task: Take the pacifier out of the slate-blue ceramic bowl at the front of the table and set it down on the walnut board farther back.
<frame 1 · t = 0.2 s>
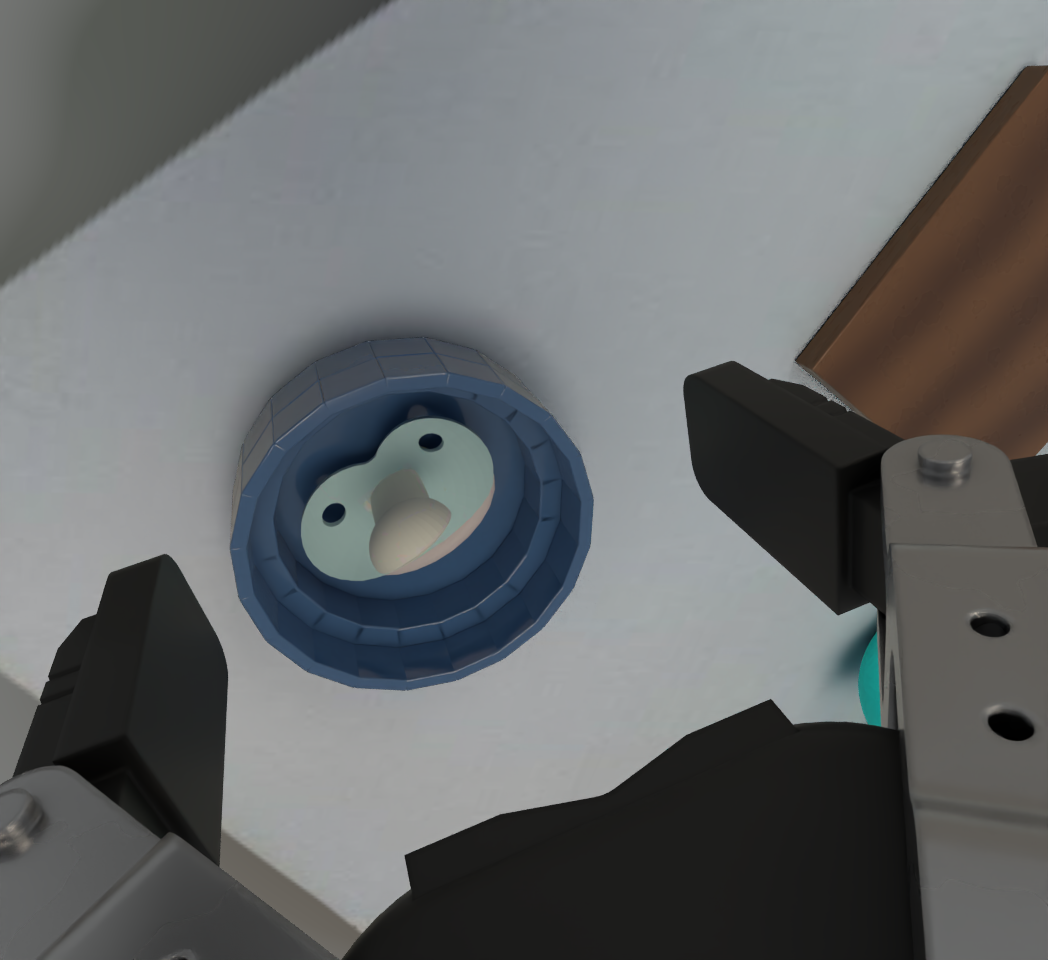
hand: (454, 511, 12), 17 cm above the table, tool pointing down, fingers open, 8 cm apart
pacifier: (404, 491, 29), resting on bowl
bowl: (403, 488, 30), on the table
board: (990, 317, 35), on the table
donuts: (911, 651, 44), on the table
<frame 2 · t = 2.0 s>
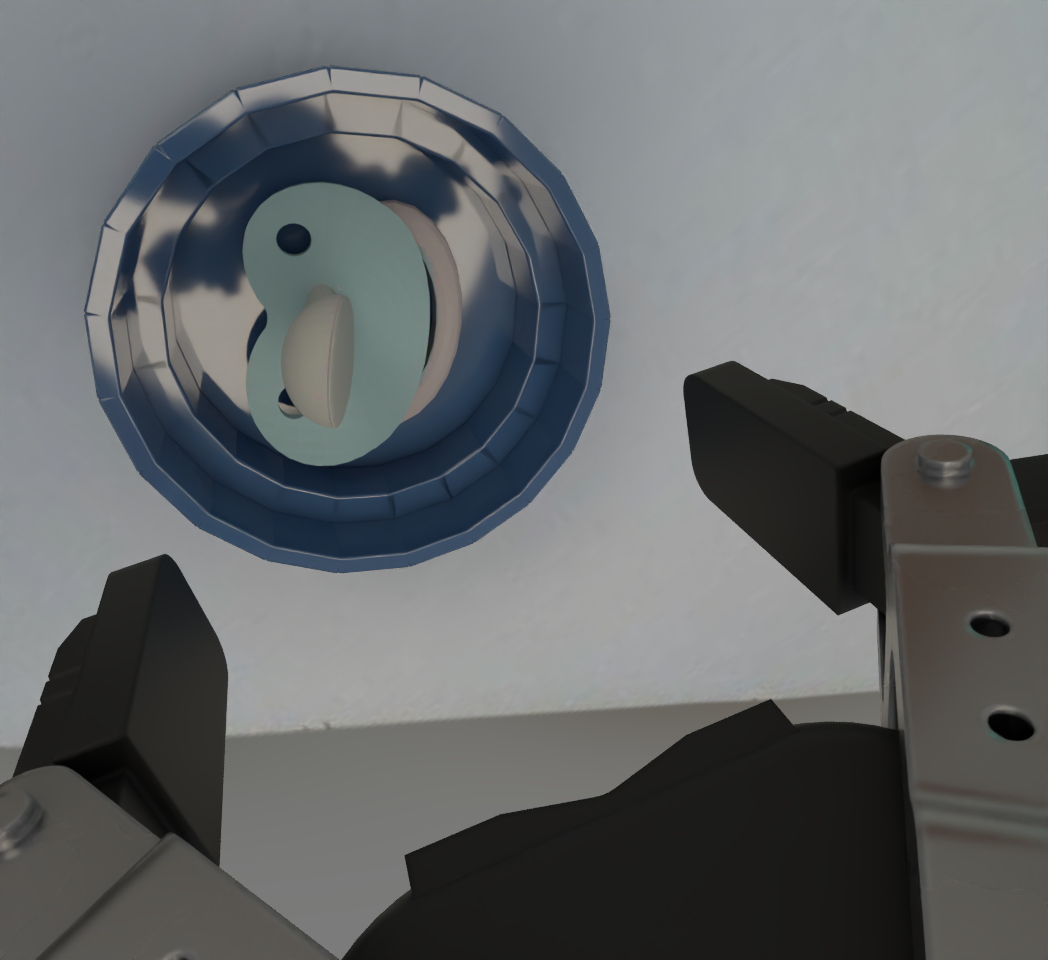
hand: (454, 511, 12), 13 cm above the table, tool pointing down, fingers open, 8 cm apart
pacifier: (354, 313, 22), resting on bowl
bowl: (353, 310, 22), on the table
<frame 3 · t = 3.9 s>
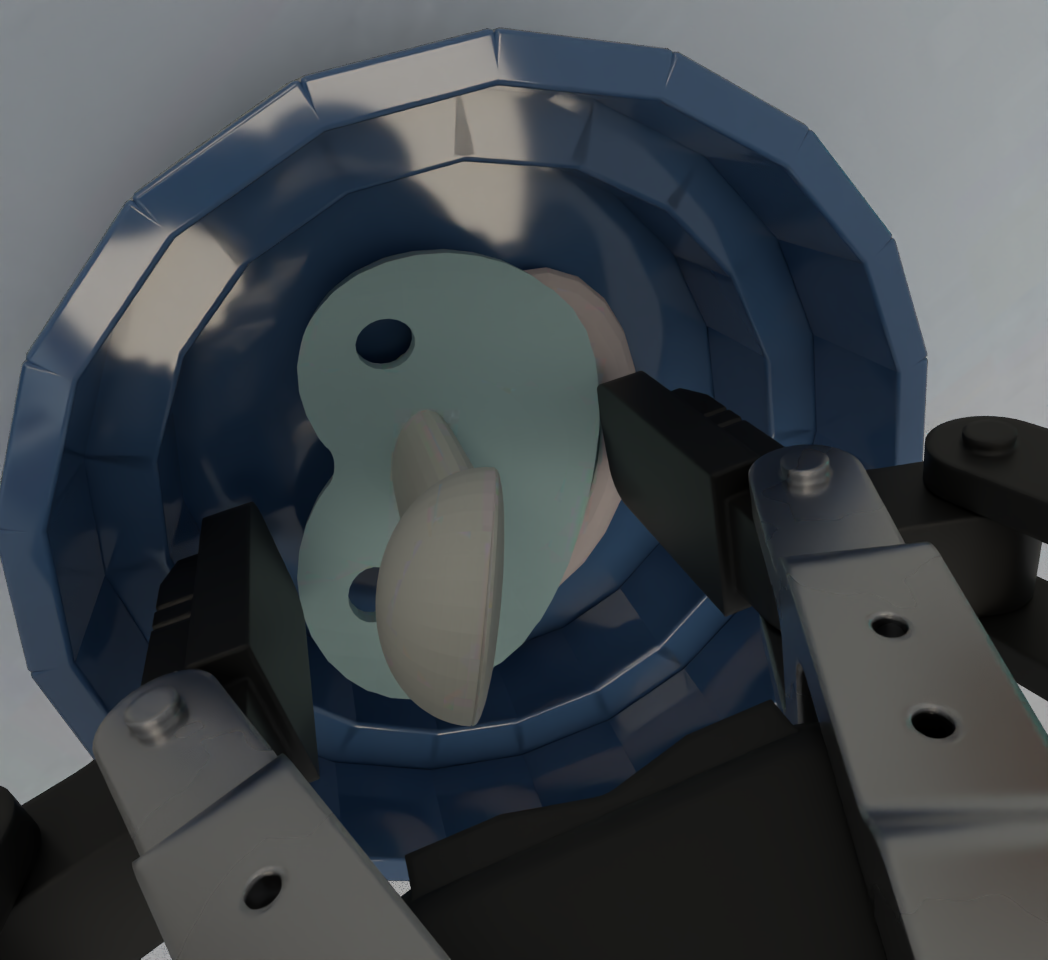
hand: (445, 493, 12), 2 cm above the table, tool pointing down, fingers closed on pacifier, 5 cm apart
pacifier: (466, 439, 14), resting on bowl, touching gripper
bowl: (462, 432, 14), on the table
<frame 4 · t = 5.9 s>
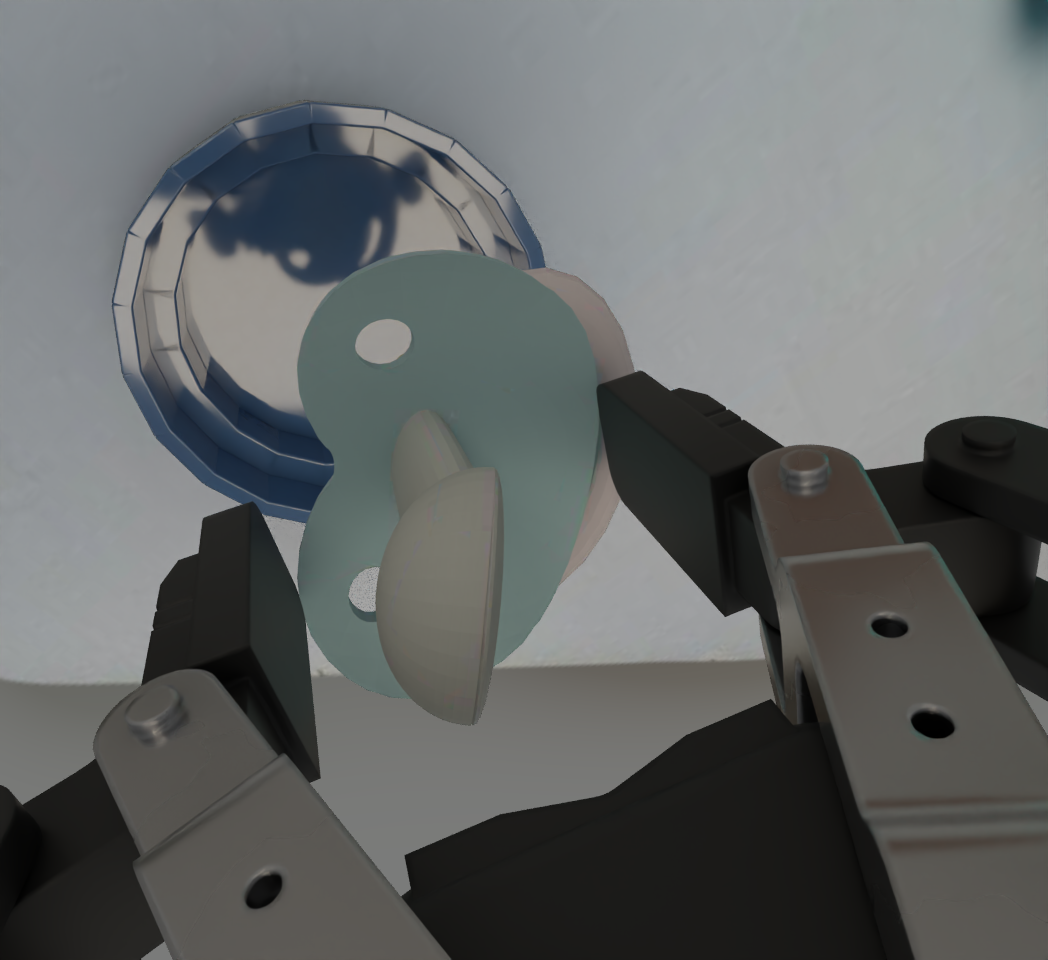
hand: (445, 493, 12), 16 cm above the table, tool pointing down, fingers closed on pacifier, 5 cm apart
pacifier: (466, 439, 14), point 14 cm above the table, touching gripper
bowl: (338, 303, 26), on the table
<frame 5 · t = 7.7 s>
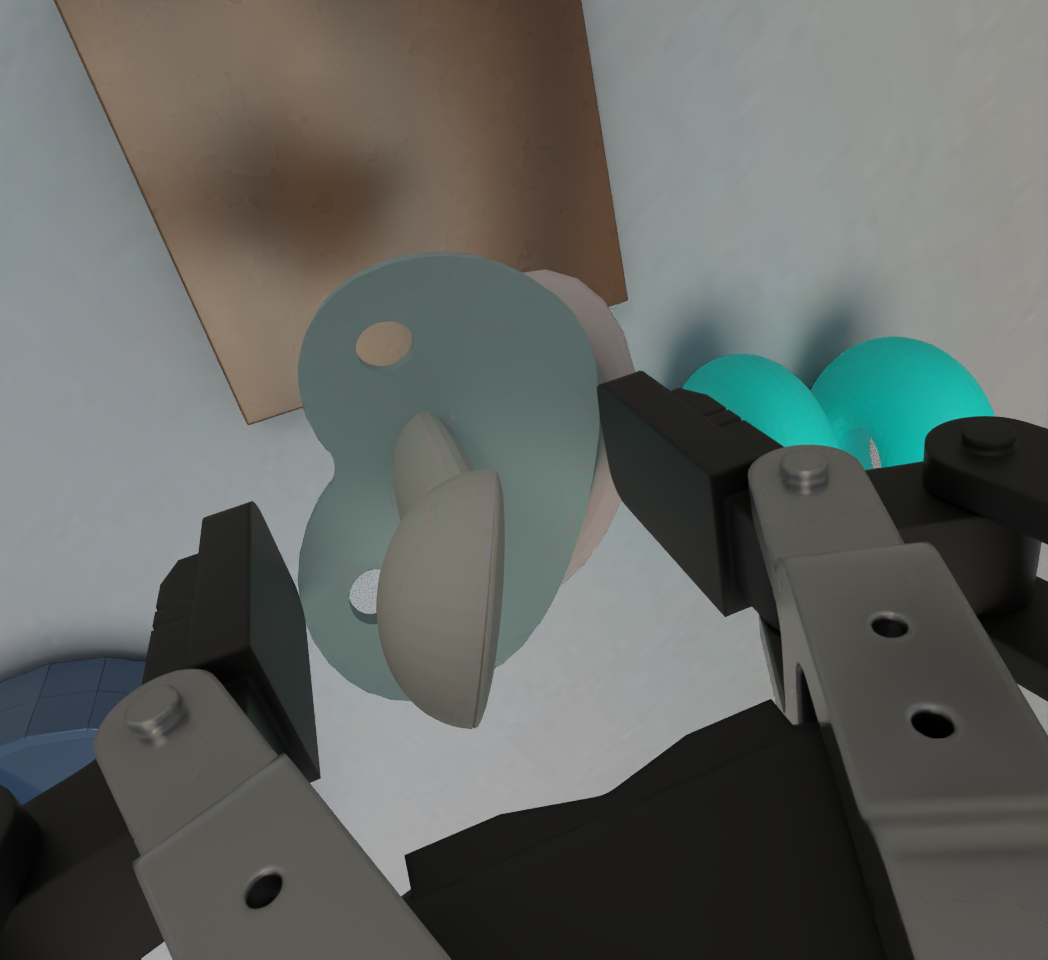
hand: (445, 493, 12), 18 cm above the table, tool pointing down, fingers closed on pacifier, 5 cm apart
pacifier: (466, 441, 14), point 16 cm above the table, touching gripper
bowl: (104, 765, 33), on the table
board: (383, 161, 26), on the table
donuts: (748, 422, 36), on the table
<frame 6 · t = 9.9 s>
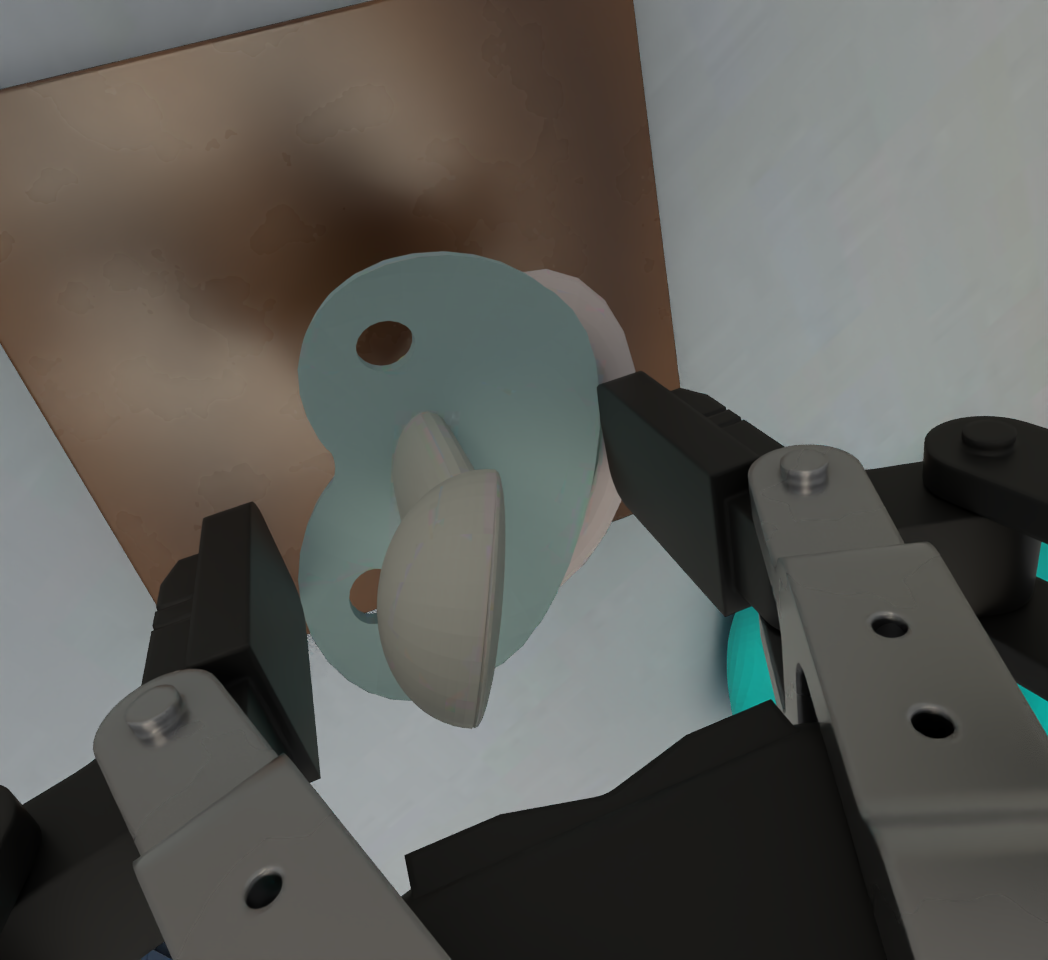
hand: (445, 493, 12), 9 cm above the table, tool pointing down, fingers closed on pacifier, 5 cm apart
pacifier: (467, 440, 14), point 7 cm above the table, touching gripper
board: (378, 340, 19), on the table
donuts: (826, 603, 29), on the table
when the fingers open (3 cm above the table, at t = 11.7 s): pacifier stays where it is, resting on board.
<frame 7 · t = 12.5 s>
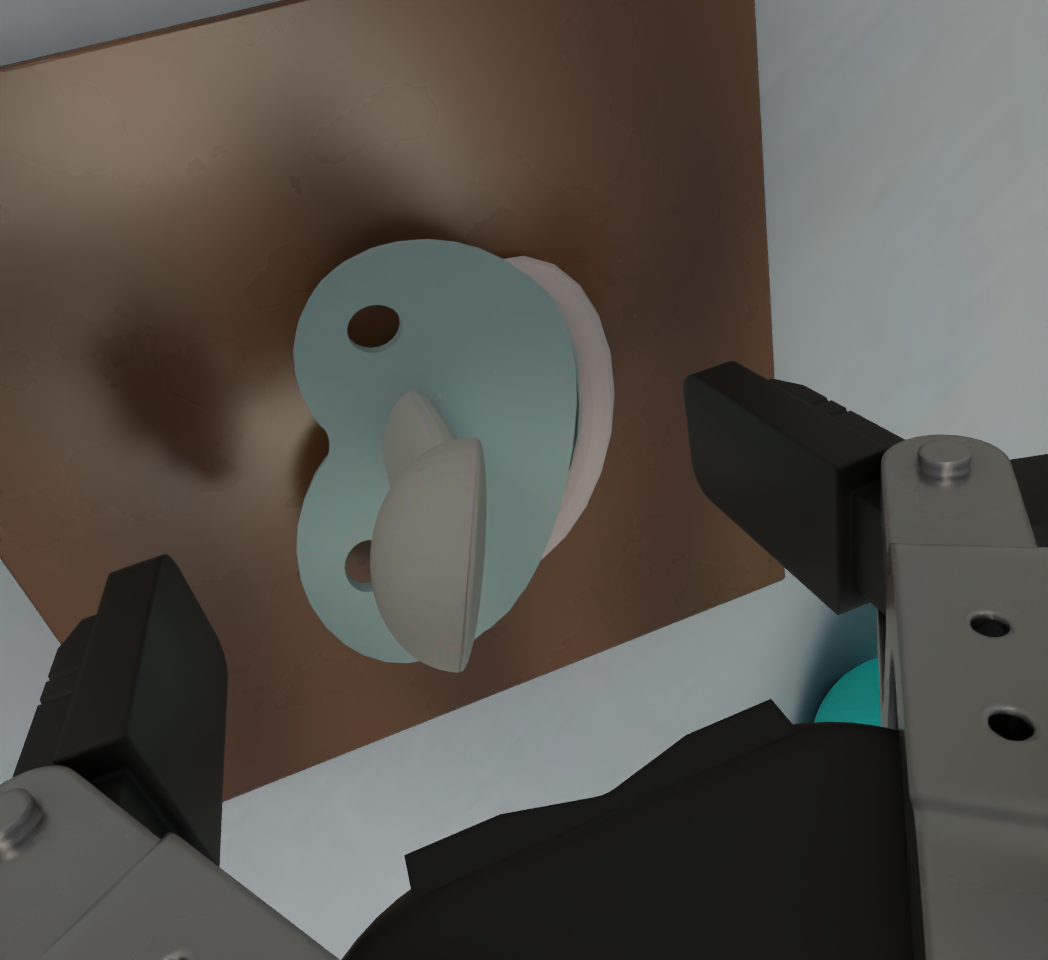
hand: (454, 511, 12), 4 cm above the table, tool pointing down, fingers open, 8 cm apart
pacifier: (453, 420, 15), point 1 cm above the table, touching board
board: (409, 407, 15), on the table
donuts: (918, 687, 25), on the table
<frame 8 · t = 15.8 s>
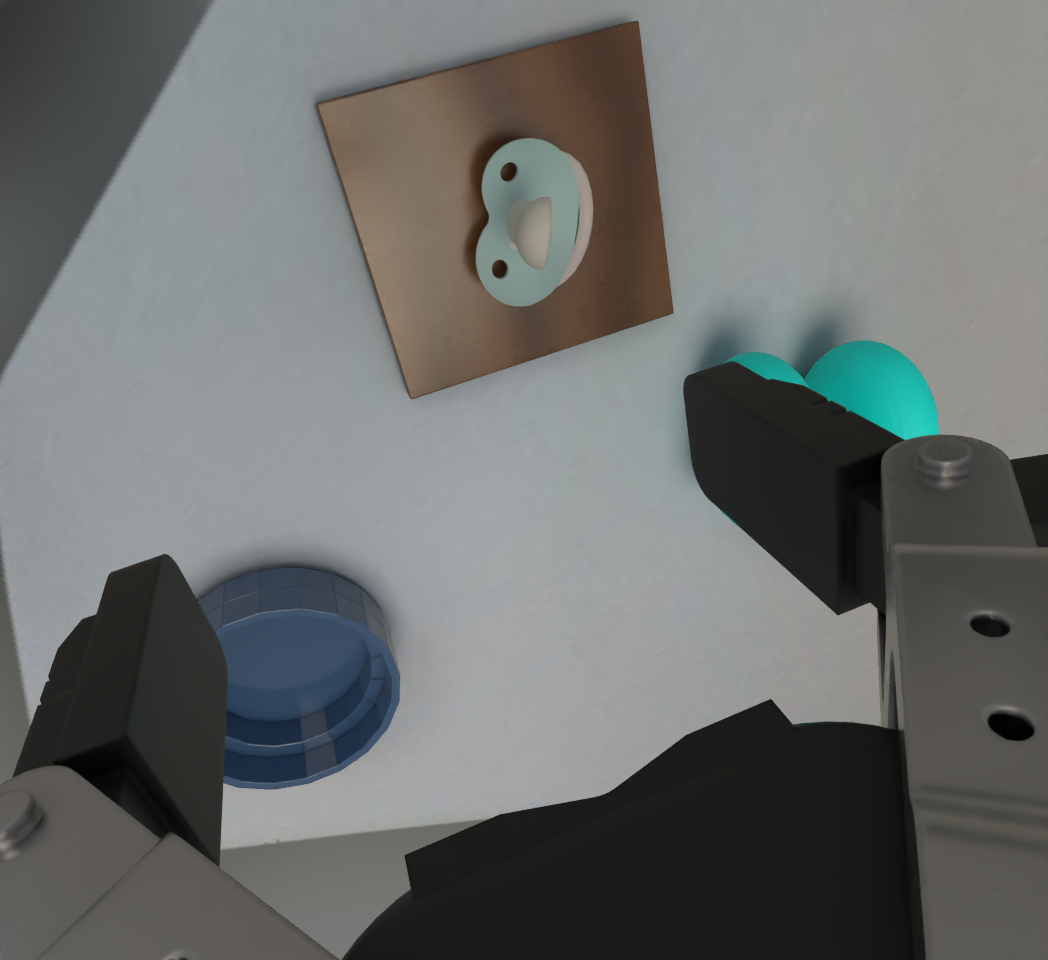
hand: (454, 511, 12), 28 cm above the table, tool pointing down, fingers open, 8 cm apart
pacifier: (530, 219, 37), point 1 cm above the table, touching board
bowl: (283, 651, 45), on the table
board: (510, 218, 38), on the table
donuts: (757, 403, 48), on the table
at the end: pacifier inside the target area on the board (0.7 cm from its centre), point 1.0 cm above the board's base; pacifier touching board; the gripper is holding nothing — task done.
